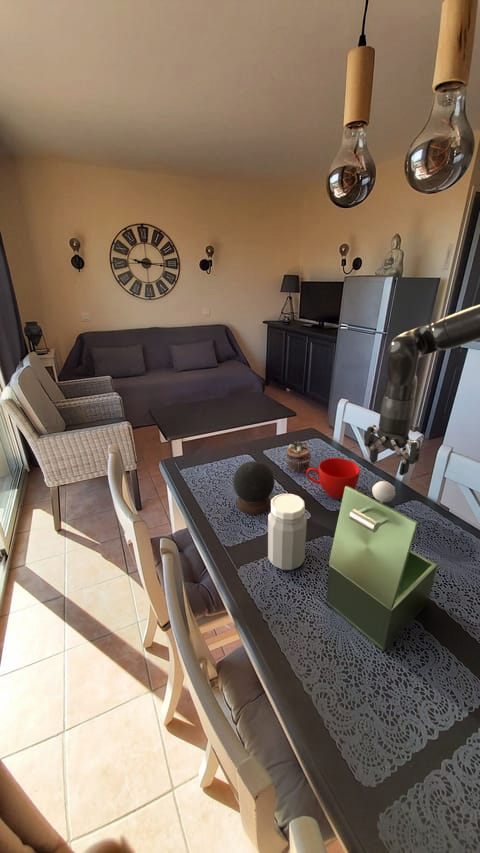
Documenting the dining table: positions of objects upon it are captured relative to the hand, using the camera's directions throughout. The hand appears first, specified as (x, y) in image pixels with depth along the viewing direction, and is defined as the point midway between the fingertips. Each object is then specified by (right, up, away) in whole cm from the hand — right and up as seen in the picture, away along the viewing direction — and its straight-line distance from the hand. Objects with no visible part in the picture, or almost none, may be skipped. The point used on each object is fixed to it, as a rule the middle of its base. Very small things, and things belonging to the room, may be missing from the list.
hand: (387, 467), depth 98 cm
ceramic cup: (-9, -11, +24) cm, 29 cm away
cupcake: (-18, -4, +40) cm, 44 cm away
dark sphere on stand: (-36, -14, +20) cm, 43 cm away
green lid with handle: (-15, -12, -29) cm, 34 cm away
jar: (-28, -24, -3) cm, 37 cm away
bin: (-9, -29, -16) cm, 35 cm away
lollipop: (+1, -18, +8) cm, 20 cm away
